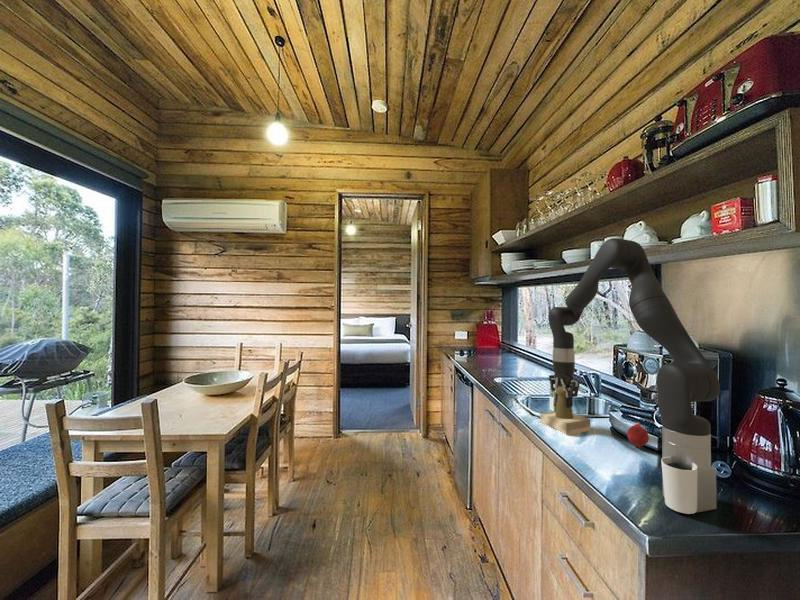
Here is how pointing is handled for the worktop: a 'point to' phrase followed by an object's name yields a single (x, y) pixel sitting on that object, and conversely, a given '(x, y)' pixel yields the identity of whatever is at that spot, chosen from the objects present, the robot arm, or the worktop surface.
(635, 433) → the onion
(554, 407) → the syrup box
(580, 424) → the birch block
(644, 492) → the worktop surface
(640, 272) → the robot arm
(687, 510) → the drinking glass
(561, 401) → the cork
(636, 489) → the worktop surface
